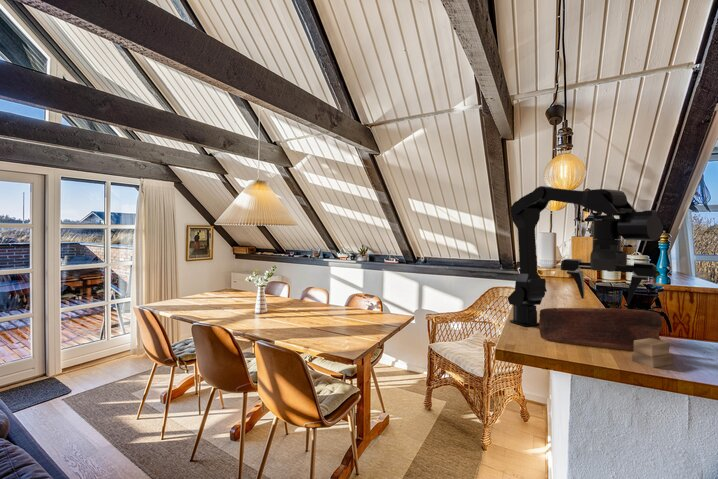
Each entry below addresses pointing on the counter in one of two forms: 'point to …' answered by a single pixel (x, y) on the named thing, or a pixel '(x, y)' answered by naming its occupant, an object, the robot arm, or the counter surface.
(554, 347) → the counter surface
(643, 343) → the offcut upper
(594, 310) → the wooden tablet
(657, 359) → the offcut lower
